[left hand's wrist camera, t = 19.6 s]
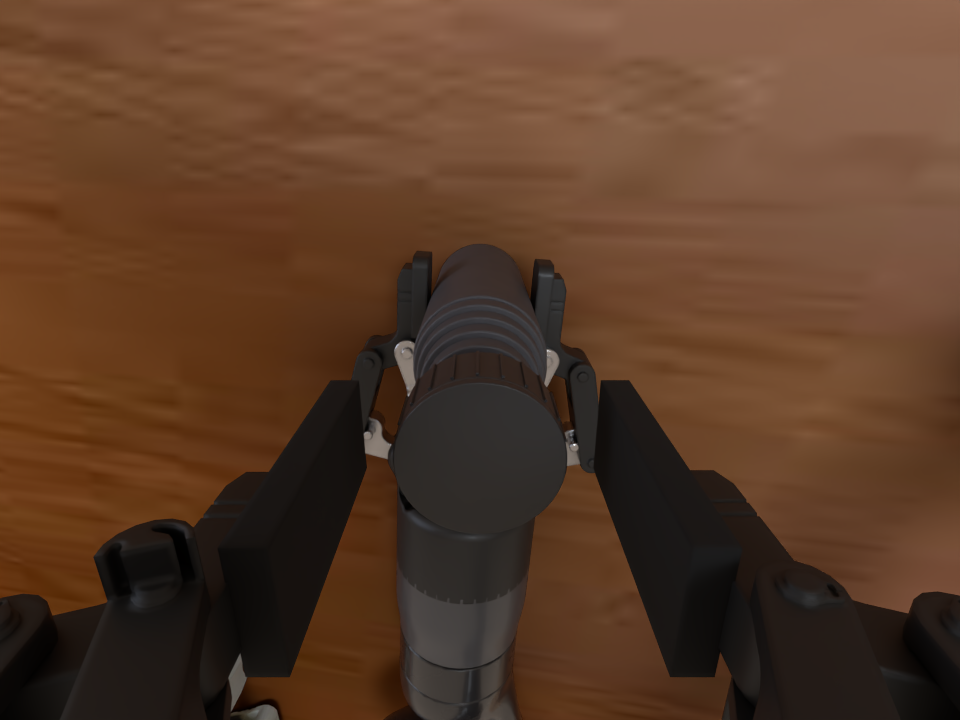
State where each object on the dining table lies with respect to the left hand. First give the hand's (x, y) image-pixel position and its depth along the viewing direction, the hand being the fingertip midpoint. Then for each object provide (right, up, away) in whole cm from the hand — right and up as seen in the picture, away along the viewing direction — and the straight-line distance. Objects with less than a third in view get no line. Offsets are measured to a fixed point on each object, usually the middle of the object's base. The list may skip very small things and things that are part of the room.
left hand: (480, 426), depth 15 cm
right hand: (0, +6, +10) cm, 12 cm away
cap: (0, -1, -2) cm, 2 cm away
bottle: (0, +6, +16) cm, 17 cm away
